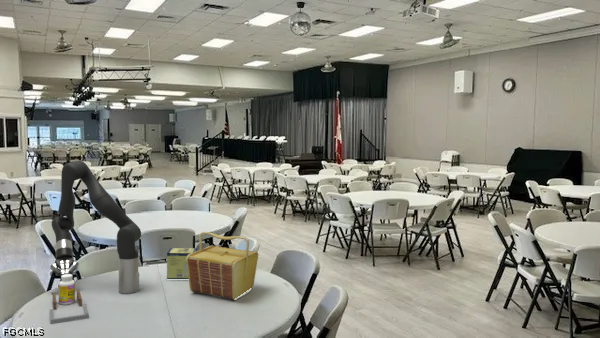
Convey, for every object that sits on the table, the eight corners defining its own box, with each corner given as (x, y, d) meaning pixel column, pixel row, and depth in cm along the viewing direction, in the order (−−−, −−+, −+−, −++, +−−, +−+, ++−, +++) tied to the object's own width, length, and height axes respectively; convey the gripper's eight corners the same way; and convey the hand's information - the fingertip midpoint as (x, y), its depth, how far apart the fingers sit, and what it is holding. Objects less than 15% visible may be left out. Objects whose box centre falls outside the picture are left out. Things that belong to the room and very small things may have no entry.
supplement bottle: (68, 305, 209) (68, 278, 208) (55, 304, 210) (55, 276, 209) (78, 300, 215) (78, 274, 214) (65, 299, 217) (65, 272, 216)
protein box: (169, 274, 259) (169, 247, 258) (197, 275, 261) (198, 248, 260) (166, 280, 249) (166, 252, 248) (195, 280, 250) (195, 252, 249)
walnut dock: (79, 296, 220) (79, 289, 220) (81, 306, 209) (81, 298, 209) (52, 300, 215) (52, 293, 214) (53, 310, 203) (53, 302, 203)
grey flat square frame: (85, 307, 208) (85, 304, 208) (88, 317, 196) (88, 314, 196) (49, 312, 201) (49, 309, 200) (50, 323, 189) (50, 320, 189)
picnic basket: (183, 295, 227) (184, 235, 225) (211, 280, 251) (213, 226, 249) (234, 305, 217) (236, 242, 214) (259, 289, 240) (261, 232, 238)
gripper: (49, 247, 225) (49, 279, 215) (79, 245, 232) (80, 276, 222) (48, 255, 230) (49, 287, 220) (78, 253, 236) (79, 283, 227)
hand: (65, 281), depth 221 cm, fingers closed
